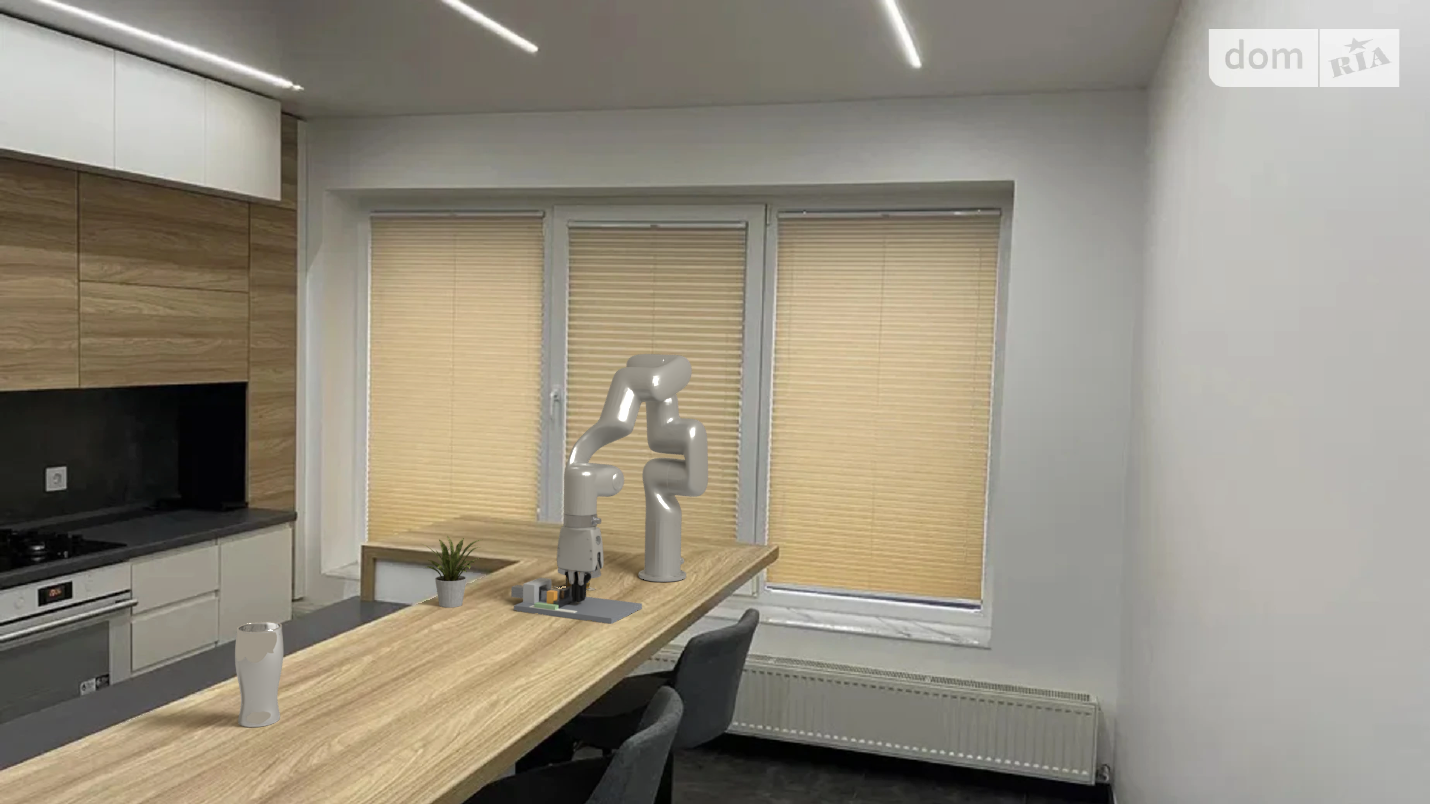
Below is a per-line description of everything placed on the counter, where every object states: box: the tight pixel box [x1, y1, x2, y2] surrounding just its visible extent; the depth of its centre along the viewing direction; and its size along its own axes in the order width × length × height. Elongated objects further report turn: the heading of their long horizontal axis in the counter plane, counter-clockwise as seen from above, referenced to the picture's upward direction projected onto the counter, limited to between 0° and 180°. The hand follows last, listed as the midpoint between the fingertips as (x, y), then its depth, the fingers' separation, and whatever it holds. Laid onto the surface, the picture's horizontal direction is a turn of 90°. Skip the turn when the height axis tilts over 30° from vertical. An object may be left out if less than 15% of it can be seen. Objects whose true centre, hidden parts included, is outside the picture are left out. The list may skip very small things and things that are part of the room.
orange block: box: [547, 590, 557, 604], centre depth 234 cm, size 2×2×4 cm
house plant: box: [421, 535, 482, 608], centre depth 238 cm, size 14×14×16 cm
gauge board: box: [513, 577, 643, 625], centre depth 237 cm, size 15×25×5 cm, turn 68°
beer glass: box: [234, 620, 284, 728], centre depth 162 cm, size 7×7×15 cm
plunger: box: [511, 584, 573, 608], centre depth 239 cm, size 9×15×4 cm, turn 68°
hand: (578, 600), depth 237 cm, fingers closed
